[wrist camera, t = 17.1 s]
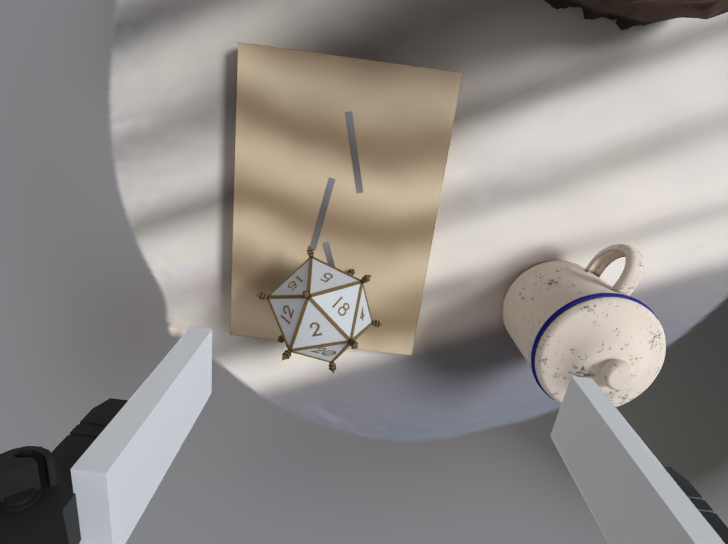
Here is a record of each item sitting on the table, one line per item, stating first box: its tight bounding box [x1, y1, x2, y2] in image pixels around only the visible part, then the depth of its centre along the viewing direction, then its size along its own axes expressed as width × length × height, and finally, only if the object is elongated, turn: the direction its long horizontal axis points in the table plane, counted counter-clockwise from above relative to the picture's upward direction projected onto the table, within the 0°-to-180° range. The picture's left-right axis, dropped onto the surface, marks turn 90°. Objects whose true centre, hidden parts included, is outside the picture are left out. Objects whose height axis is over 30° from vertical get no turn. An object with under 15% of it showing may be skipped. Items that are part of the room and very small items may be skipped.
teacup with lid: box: [502, 244, 666, 407], centre depth 33 cm, size 12×9×12 cm
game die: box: [256, 246, 382, 373], centre depth 33 cm, size 9×8×10 cm
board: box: [230, 42, 462, 355], centre depth 36 cm, size 23×16×2 cm
